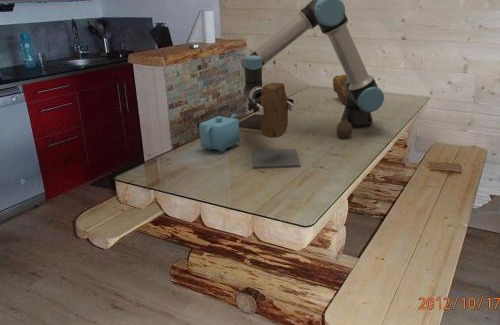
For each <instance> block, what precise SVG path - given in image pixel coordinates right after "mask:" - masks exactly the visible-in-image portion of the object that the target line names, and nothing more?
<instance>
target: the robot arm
mask: <svg viewBox="0 0 500 325" xmlns="http://www.w3.org/2000/svg"><path fill="white" fill-rule="evenodd" d="M348 22H349V19H348V17H347V14H346V7H345V4H344V2H343V0H311V1H309V3H307V4H306V6H304V7H303V8H302V9H300V10H299V12H298V15H297V16H296V17H294V18H293V19H292V20H291V21H289V23H287V24H286V25H285V26H284V27H283V28H281V29H280V30H278V32H276V33H275V34H274V35H272V36H271V37H270V38H269V39H268V40H267V41H265V42H264V43H262V44H261V46H259V47H258V48H256V49H255V50H254V51H253V52H252V53H251V54H250V55H246V56H245V57H244V58H243V60H242V62H241V64H242V69H243V71H244V86H243V88H242V93H243V95H244V97H245V98H246V99H247V100H248V102H247V103H248V104H247V110H248V111H249V112H250V111H253V113H258V114H259V115H264V111H263V107H262V106H261V96H262V91H261V89H262V87H263V66H264V65H266V64H267V63H269V61H272V59H273V58H275V57H276V56H277V55H278V54H280V53H281V52H282V51H284V49H286V48H287V47H288V46H290V45H291V44H292V43H293V42H295V41H296V40H297V39H298V38H300V37H301V36H302V35H303V34H304V33H306V32H307V31H309V30H313V29H315V28H316V27H319V29H320V31H321V33H322V34H323V35H324V36H327V38H328V39H329V42H330V43H331V46H332V48H333V49H334V52H335V54H336V57H337V58H338V60H339V63H340V65H341V67H342V69H343V72H344V75H346V76H347V80H346V96H345V104H344V111H343V113H342V116H341V117H340V121H341V120H342V118H347V119H348V121H349V122H350V124H351V126H352V129H364V128H369V127H371V126H373V122H374V120H373V119H374V118H373V117H372V113H373V112H376V111H378V110H379V109H380V108H382V105H383V103H384V101H385V95H384V92H383V90H382V89H381V88H380V87H379V86H378V83H377V82H376V80H375V78H374V76H373V75H370V74H369V73H368V71H367V69H366V66H365V64H364V62H363V60H362V56H361V55H360V53H359V51H358V49H357V46H356V44H355V42H354V39H353V37H352V35H351V33H350V30H349V28H348V27H347V26H348V25H347V24H348ZM287 102H288V111H290V112H294V108H295V107H294V104H295V103H294V99H293V98H289V97H287Z"/></svg>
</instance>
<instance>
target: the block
mask: <svg viewBox="0 0 500 325" xmlns="http://www.w3.org/2000/svg"><path fill="white" fill-rule="evenodd" d="M285 86H286V85H285V84H284V83H281V82H270V83H267V84H265V85H262V89H261V91H262V96H261V106H262V107H263V111H264V115H261V114H260V115H261V130H262V133H261V135H262V136H263V137H267V138H270V139H273V138H281V137H283V135H284V134H285V133H286V131H287V129H288V124H289V123H288V122H289V109H288V102H287V98H288V97H287V93H286V88H285Z"/></svg>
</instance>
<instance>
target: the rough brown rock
mask: <svg viewBox="0 0 500 325" xmlns="http://www.w3.org/2000/svg"><path fill="white" fill-rule="evenodd" d="M346 80H347V76H346V74H341V75H335V76H334V77H333V79H332V87H333V91H334V92H335V93H336V94H337V97H338V99H339V101H341V105H345V96H346Z"/></svg>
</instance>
